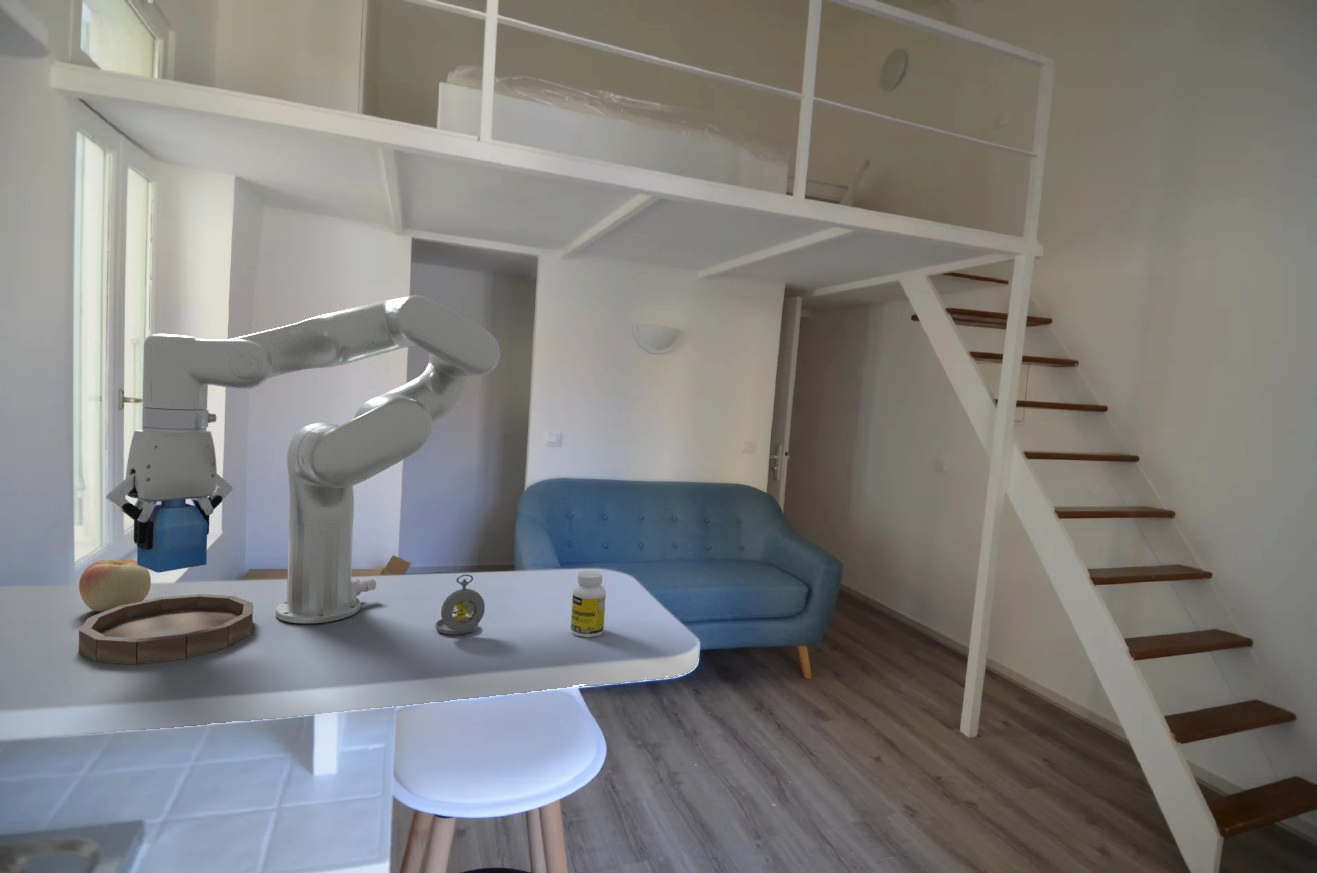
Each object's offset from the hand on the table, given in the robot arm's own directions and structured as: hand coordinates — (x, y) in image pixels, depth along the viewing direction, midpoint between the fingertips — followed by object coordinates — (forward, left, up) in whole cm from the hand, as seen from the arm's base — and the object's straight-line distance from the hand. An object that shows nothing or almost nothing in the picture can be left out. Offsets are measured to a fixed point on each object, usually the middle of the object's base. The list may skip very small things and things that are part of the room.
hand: (172, 543), depth 96 cm
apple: (0, -18, -14) cm, 23 cm away
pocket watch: (-27, +30, -14) cm, 43 cm away
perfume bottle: (0, 0, -3) cm, 3 cm away
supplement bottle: (-40, +46, -14) cm, 63 cm away
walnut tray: (0, 0, -14) cm, 14 cm away
